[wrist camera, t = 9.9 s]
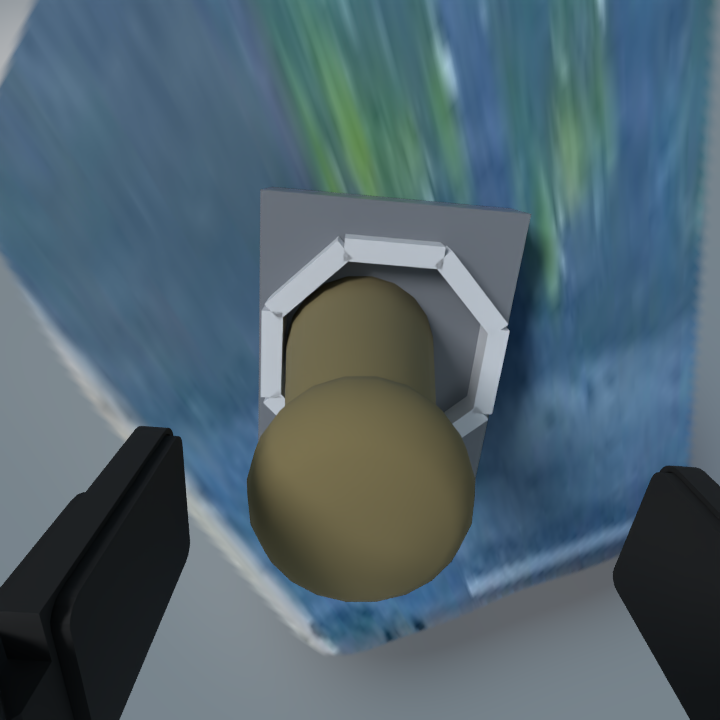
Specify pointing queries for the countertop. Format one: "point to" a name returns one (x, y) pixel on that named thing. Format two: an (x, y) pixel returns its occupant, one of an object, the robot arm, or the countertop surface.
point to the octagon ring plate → (407, 270)
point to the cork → (360, 450)
